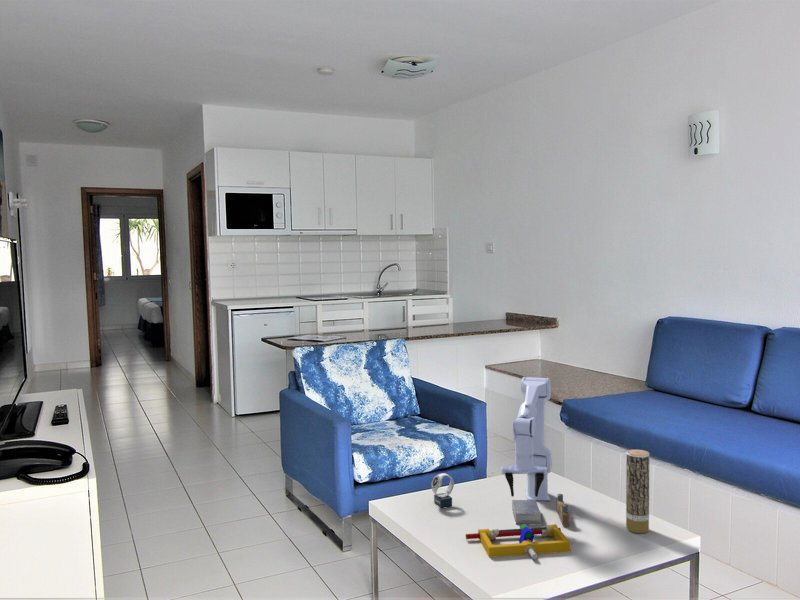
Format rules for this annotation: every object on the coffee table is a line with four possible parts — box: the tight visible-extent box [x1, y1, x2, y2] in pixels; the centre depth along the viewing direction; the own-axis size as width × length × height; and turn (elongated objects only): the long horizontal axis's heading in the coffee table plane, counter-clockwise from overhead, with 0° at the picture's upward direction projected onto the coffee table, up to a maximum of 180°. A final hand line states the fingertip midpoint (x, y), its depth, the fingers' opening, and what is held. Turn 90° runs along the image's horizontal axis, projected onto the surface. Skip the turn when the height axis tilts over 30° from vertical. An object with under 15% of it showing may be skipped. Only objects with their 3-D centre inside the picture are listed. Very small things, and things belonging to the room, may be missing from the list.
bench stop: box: [555, 493, 570, 528], centre depth 224 cm, size 15×2×6 cm, turn 175°
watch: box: [430, 472, 455, 509], centre depth 238 cm, size 6×8×11 cm
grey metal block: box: [511, 499, 542, 525], centre depth 226 cm, size 12×8×4 cm, turn 176°
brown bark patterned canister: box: [625, 448, 650, 534], centre depth 213 cm, size 7×7×25 cm
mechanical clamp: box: [465, 523, 571, 560], centre depth 202 cm, size 18×6×30 cm
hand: (524, 495), depth 220 cm, fingers open, 7 cm apart
